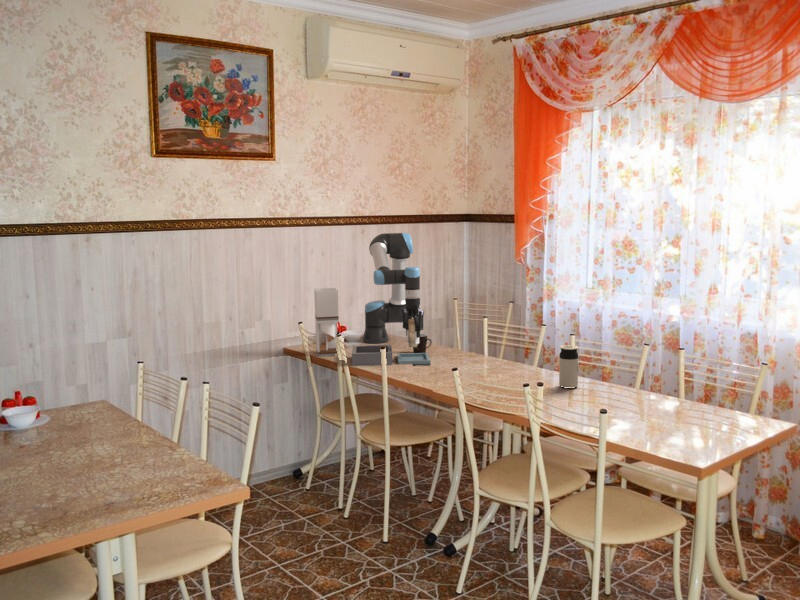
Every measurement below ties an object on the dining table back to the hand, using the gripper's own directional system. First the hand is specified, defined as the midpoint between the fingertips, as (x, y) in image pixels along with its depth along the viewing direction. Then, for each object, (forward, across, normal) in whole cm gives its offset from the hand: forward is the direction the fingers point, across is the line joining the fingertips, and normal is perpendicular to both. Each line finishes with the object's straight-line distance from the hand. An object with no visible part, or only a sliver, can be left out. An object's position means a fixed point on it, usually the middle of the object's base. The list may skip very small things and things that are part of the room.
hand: (413, 343), depth 383 cm
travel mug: (+11, +86, +6) cm, 87 cm away
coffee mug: (+10, -10, +16) cm, 21 cm away
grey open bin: (+10, -15, -15) cm, 23 cm away
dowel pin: (+2, 0, 0) cm, 2 cm away
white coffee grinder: (+10, -49, -15) cm, 52 cm away
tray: (+10, 0, 0) cm, 10 cm away
